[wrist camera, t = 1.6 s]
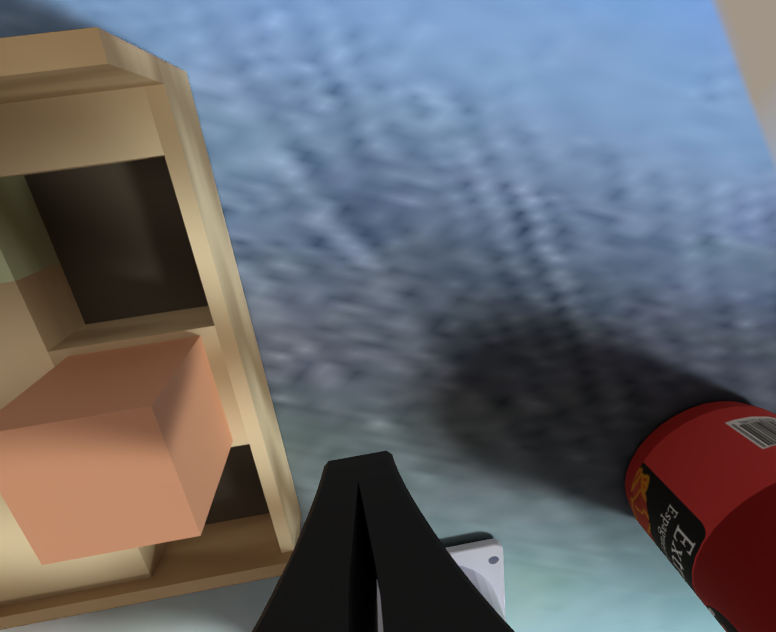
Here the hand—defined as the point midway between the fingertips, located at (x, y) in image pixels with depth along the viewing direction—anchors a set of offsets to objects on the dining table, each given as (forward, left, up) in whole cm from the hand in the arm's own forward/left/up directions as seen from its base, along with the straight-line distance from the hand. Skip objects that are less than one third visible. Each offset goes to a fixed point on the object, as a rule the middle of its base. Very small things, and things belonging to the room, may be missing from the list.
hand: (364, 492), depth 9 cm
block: (0, +6, -6) cm, 9 cm away
